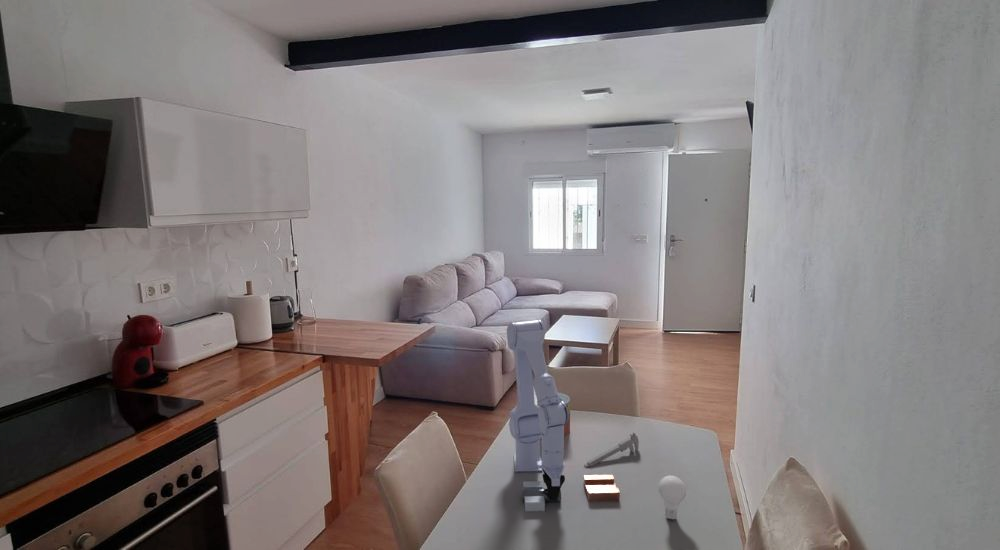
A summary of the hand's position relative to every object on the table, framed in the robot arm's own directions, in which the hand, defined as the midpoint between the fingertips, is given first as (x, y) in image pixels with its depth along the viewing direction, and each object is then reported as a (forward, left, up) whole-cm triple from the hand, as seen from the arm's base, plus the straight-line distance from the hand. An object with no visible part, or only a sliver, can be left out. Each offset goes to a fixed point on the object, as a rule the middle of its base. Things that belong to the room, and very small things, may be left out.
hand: (552, 495), depth 127 cm
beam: (0, -5, -1) cm, 5 cm away
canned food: (-37, +4, -2) cm, 37 cm away
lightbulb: (+8, +28, -2) cm, 30 cm away
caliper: (-20, +20, -2) cm, 29 cm away
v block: (-3, +13, -1) cm, 14 cm away
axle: (0, -3, -1) cm, 3 cm away
